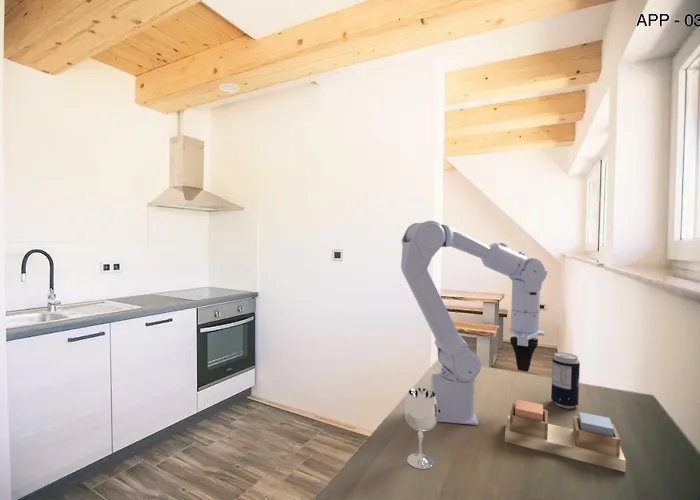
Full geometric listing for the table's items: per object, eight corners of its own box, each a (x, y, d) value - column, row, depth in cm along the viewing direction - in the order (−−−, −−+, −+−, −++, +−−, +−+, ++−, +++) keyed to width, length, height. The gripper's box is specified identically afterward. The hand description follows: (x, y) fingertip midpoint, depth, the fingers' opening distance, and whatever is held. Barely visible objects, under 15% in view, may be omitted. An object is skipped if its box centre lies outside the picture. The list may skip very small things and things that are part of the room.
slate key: (580, 438, 67) (581, 422, 67) (578, 427, 71) (579, 411, 71) (613, 445, 65) (613, 429, 65) (608, 433, 69) (609, 417, 69)
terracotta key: (514, 423, 72) (515, 408, 72) (516, 413, 76) (516, 399, 76) (542, 429, 70) (543, 414, 70) (542, 419, 74) (543, 404, 74)
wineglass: (413, 448, 68) (415, 384, 68) (442, 460, 65) (444, 392, 65) (396, 462, 64) (398, 393, 64) (427, 475, 60) (429, 403, 60)
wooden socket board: (504, 441, 72) (505, 416, 72) (508, 424, 79) (509, 401, 79) (625, 472, 63) (626, 442, 63) (617, 449, 70) (618, 423, 70)
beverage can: (582, 411, 86) (584, 360, 86) (555, 408, 87) (557, 357, 87) (572, 401, 92) (574, 353, 91) (547, 398, 93) (549, 351, 92)
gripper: (545, 318, 75) (542, 384, 76) (545, 307, 88) (543, 364, 88) (507, 314, 79) (505, 377, 79) (512, 304, 91) (511, 359, 92)
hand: (523, 370), depth 84 cm, fingers closed
